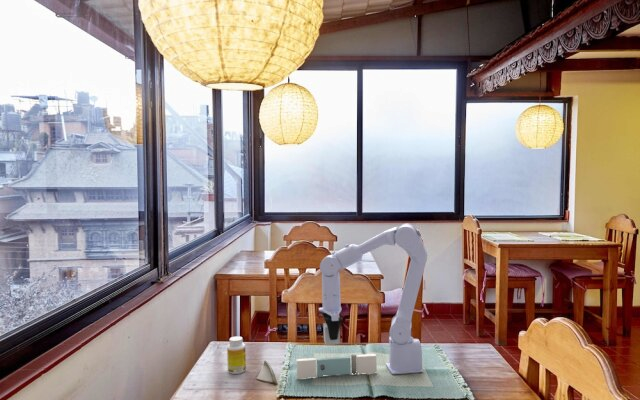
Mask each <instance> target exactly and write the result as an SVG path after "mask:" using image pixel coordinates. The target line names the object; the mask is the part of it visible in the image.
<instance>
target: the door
mask: <svg viewBox="0 0 640 400" xmlns="http://www.w3.org/2000/svg"><path fill="white" fill-rule="evenodd" d="M350 356H351V355H350ZM350 356H337V357H335V356H334V357H324V358H323V357H322V358H321V357H319V358H316V377H318V376H322V377H324V376H323V375H336V376H338V375H337V374H349V375H352V364H351V357H350Z"/></svg>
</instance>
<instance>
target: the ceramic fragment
mask: <svg viewBox="0 0 640 400" xmlns="http://www.w3.org/2000/svg"><path fill="white" fill-rule="evenodd" d="M276 377H277V376H276V375H275V371H274V369H273V368H272V367H271V365H270V363H269V362H268V361H266V360H264V361H263V365H262V366H261V367H260V372H259V373H258V375H257V377H256V380H257V381H260V382H263V383H269V384H272V385H273V384H274V385H276V386H278V381H277V378H276Z"/></svg>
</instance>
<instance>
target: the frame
mask: <svg viewBox="0 0 640 400" xmlns="http://www.w3.org/2000/svg"><path fill="white" fill-rule="evenodd" d="M350 356H351V357H350V362H351V374H352V373H353V374H355V373H356V375H357V374H358V373H359V374H362V373H375V372H377V355H376V353H366V354H355V353H354V354H351V355H350ZM356 371H357V372H356ZM377 373H378V372H377ZM308 377H316V378H317V358H316V357H308V358H296V380H297V379H299V380H302V379H301V378H308Z"/></svg>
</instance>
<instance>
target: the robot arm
mask: <svg viewBox="0 0 640 400" xmlns="http://www.w3.org/2000/svg"><path fill="white" fill-rule="evenodd" d="M385 245H388V246H396V245H398V247H400V248H401V249H402V250H404V251H405V252H406V254H407V256H408V257H409V258H410V262H409V266H408V270H407V274H406V277H405V281H404V284H403V289H402V291H401V292H402V293H401V296H400V300H399V304H398V307H397V311H396V313H395V315H394V316H393V317H392V319H391V323H390V324H391V326H390V328H389V337H388V347H389V348H388V349H389V351H388V354H389V357H388V359H389V362H385V366H387V368H388V370H389V372H390V374H392V375H402V374H413V373H414V374H415V373H423V371H424V370H423V352H422V351H423V350H422V345H421V341H420V339H419V338H414V337H413V335H412V325H413V323H412V318H413V313H414V309H415V306H416V303H417V302H416V301H417V298H418V294H419V291H420V287H421V282H422V280H423V279H422V278H423V275H424V272H425V268H426V263H427V260H428V252H427V249H426V246H425V244H424V242H423V239H422V236H421V233H420V231H418V229H417V228H416V227H415V226H414V225H412V224H411V223H407V222H406V223H402V224H400V225H399V226H395V227H392V228H389V229H386V230H385V231H382V232H381V233H379V234H377V235H375V236H374V237H371V238H369V239H368V240H366V241H364V242H362V243H361V244H355V243H351V244H350V243H346V244H345V245H344V247H343V248H341V249H339V250H337V251H332V252H331V254H328V255H326V256H325V257H324V258H323V259H322V260H321V261H320V263H319V270H320V273H321V298H322V301H321V302H322V304H321V305H322V307H318V311H319V312H321V314H322V316H323V319H324V323H326V324H327V327H328V332H329V337H330V340H337V338H338V332H339V328H340V327H341V324H342V322H343V320H344V318H343V317H342V316H339V315H340V313H341V312H342V305H341V304H342V302H341V300H342V299H341V278H340V270H344V269H345V270H346V268H349V267H351V266H352V265H354V264H356V263H357V264H358V263H359V262H360V261H362V258H363V256H364V255H365V254H367V253H369V252H372V251H374V250H376V249H379V248H381V247H383V246H385Z"/></svg>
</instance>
